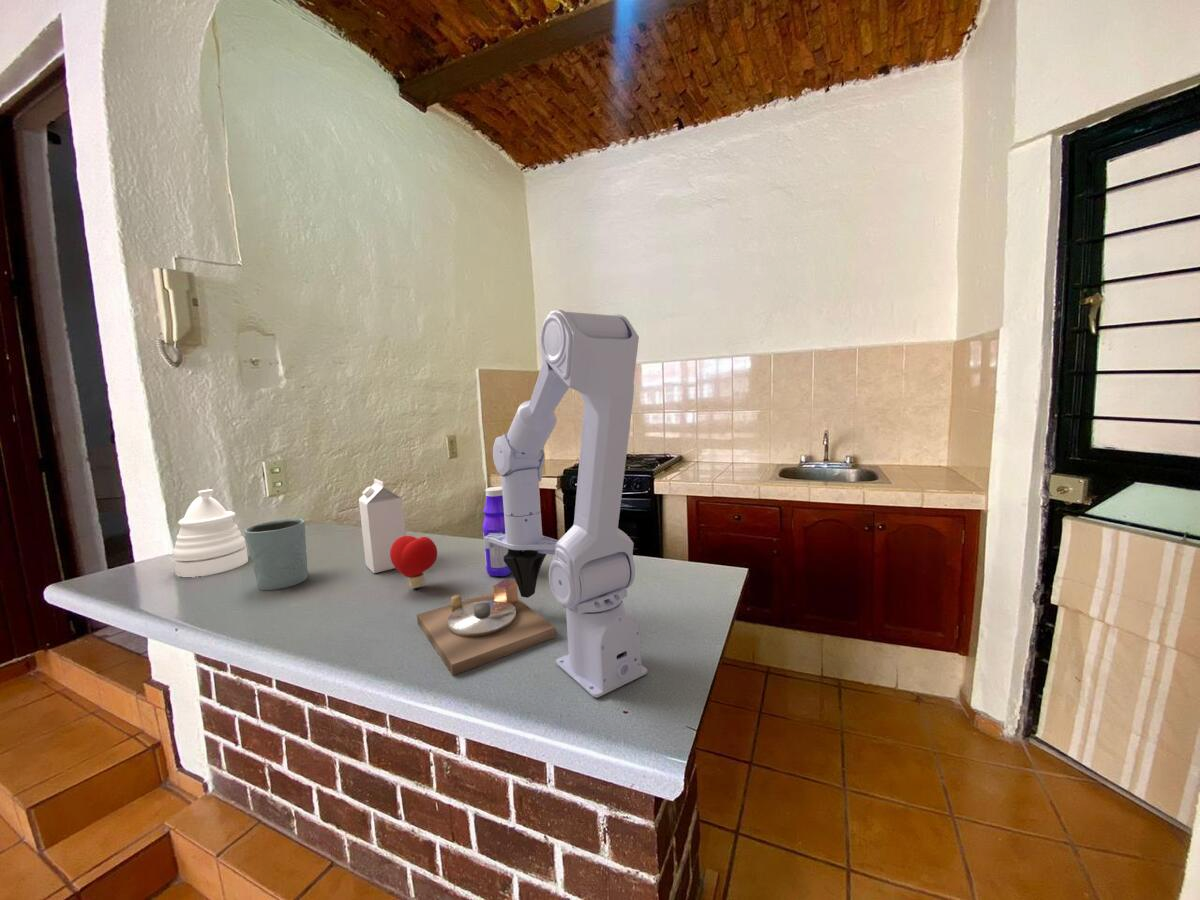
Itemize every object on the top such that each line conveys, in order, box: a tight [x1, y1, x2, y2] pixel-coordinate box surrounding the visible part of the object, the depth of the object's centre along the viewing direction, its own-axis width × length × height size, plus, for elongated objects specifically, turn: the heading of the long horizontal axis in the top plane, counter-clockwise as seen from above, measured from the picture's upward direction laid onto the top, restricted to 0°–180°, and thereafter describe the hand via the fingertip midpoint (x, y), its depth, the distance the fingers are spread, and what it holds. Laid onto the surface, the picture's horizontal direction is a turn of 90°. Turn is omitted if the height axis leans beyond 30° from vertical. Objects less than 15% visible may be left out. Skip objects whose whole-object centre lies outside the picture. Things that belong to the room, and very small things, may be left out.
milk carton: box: [358, 478, 407, 574], centre depth 101 cm, size 7×7×19 cm
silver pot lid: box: [448, 578, 519, 637], centre depth 72 cm, size 12×10×3 cm
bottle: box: [482, 485, 512, 578], centre depth 94 cm, size 7×6×17 cm
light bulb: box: [390, 535, 438, 590], centre depth 88 cm, size 9×7×10 cm
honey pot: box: [172, 488, 249, 578], centre depth 106 cm, size 13×13×18 cm
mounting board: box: [416, 591, 557, 677], centre depth 71 cm, size 18×15×4 cm
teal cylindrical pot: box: [244, 518, 309, 591], centre depth 95 cm, size 10×10×12 cm
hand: (528, 594), depth 75 cm, fingers closed
